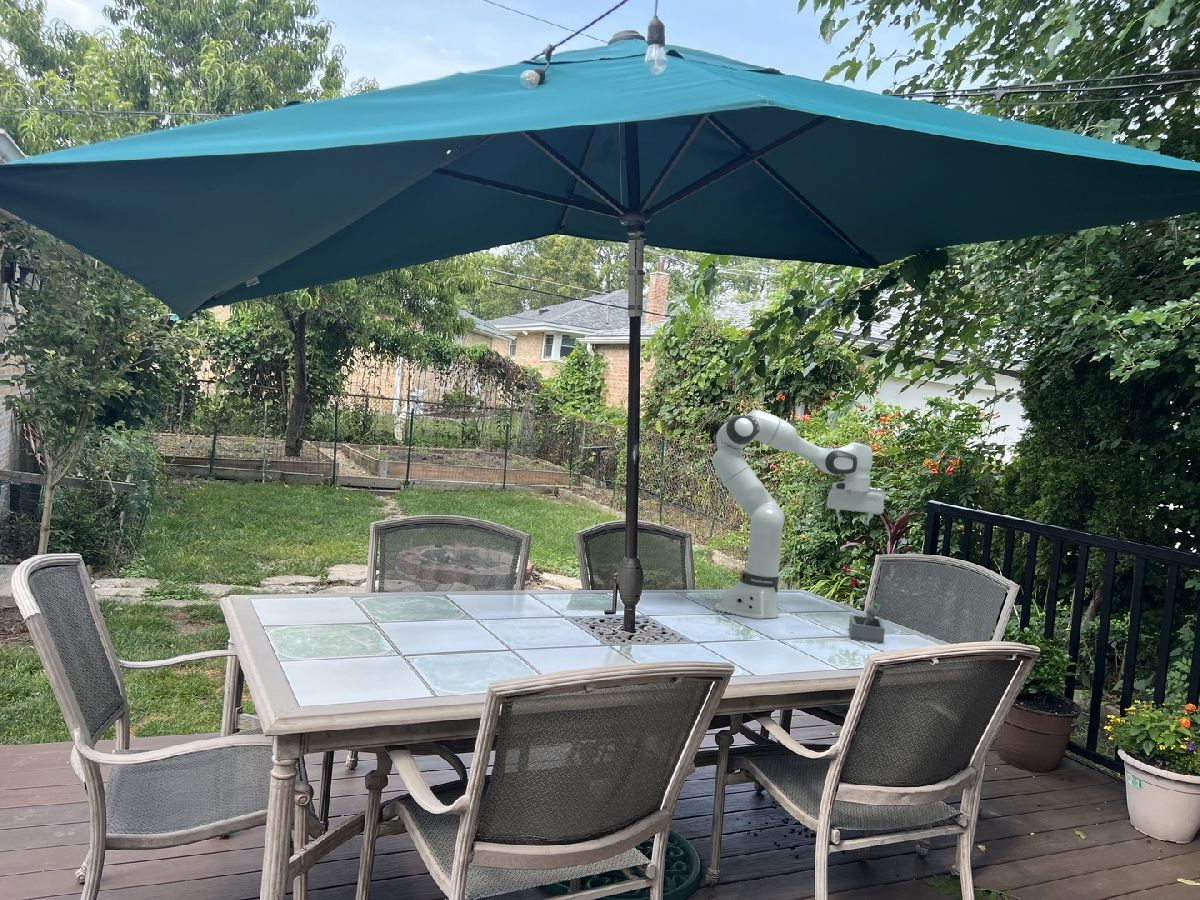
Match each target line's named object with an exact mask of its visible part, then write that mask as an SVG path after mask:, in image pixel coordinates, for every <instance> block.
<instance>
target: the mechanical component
mask: <svg viewBox="0 0 1200 900" xmlns="http://www.w3.org/2000/svg"><path fill="white" fill-rule="evenodd" d="M880 606H881V605H880V604H879V603H878V602H876V601H873V602H872V603H870V606H869V608H868V610H867V612H866V614H865V616H864V617H865V619H866V620H865V622H864V624H863V625H865V624H866V623H867V626H868V625H869V623H870V622H872V620H874V618H876V617H877V615H878V612H879V610H880V609H881V608H880Z"/></svg>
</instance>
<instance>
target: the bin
mask: <svg viewBox="0 0 1200 900" xmlns="http://www.w3.org/2000/svg"><path fill="white" fill-rule="evenodd" d="M865 617H866V616H863V615H856V614H850V615H849V624H848V626H849V627H848V632H849V631H850V632H849V635H851V636H850V640H853V639H857V640H856V641H860V640H864V641H863V642H866V641H870V642H869V643H873V642H877V643H876V644H880V643H883V644H884V640H885V639H884V638H885V630H886V628H885V626H884V624H883V621H882V618H876V617H875V618H874V620H872V622H870V623H869V625H868V626H867V623H866V624H865V625H863V624H864V622H865V620H866V619H865Z"/></svg>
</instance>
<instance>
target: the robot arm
mask: <svg viewBox="0 0 1200 900" xmlns="http://www.w3.org/2000/svg"><path fill="white" fill-rule="evenodd" d="M713 440H714V441H713V442H714V443H713V444H714V447H715V452H714V453H713V456H712V457H711V462H712V465H713V467H714V469H715V471H716V473H717V475H718V477H719V479H720V481H721V482H722V483H723V486H725V488H726V489H727V491H728V492H729V494H730V495H731V497H732V498H733V499H734V501H735V502H736V503H737V505H738V506H739V507H740V508H741V509H742V510H743V512H744V513H745V514H746V515H747V516H748V518H749V519H750V522H749V523H750V526H749V538H748V539H749V541H748V544H749V545H748V554H747V555H748V557H747V563H746V565H747V566H746V571H745V570H741V572H740V573H739V576H740V577H739V582H737V583H736V584H734V585H732V586H730V587H729V588H728V589H726V590H725V591H724V593H723V594H722V598H721V601H718V602H717V603H715V604H714V609H715V610H716V611H717V610H718V611H717V612H720V611H721V612H720V613H725V612H727V613H726V614H730V613H731V615H735V614H736V616H740V617H741V616H742V617H745V618H746V617H747V618H751V619H757V620H760V619H774V618H778V617H779V610H778V596H777V595H778V591H779V585H780V576H779V570H780V563H781V562H780V561H781V552H782V551H781V549H782V547H781V546H782V536H783V527H784V525H785V520H786V517H785V513H784V511H783V510H782V508H781V507H780V505H779V504H778V502H776V500H775V498H774V497H773V496H772V495H771V494H770V493H769V491H768V490H767V489H766V487H765V486H764V485H763V484H762V482H761V481H760V480H759V478H758V476H757V475H756V473H754V471H753V469H752V468H751V466H750V465H749V464H748V462H747V461H746V460H745V458H744V456H743V452H742V450H743V449H744V448H745V447H747V446H748V445H749V443H751V442H752V441H757V442H760V443H761V444H764V445H765V446H767V447H770V448H773V449H775V450H778V451H783V452H789V453H793V454H795V455H797V456H799V457H801V458H804V459H806V460H807V461H809V462H811V463H812V464H813V465H814V467H815V468H816V470H817V471H819V472H820V473H822V474H824V475H825V474H826V475H833V476H841V475H844V476H845V477H844V480H840V481H835V482H833V483H832V485H831V487H832V489H830V491H829V492H828V496H827V500H826V507H827V508H828V509H833V510H835V514H836V516H837V522H838V523H842V522H843V517H842V516H840V514H839V513H840V512H841V511H849V512H850V511H851V512H858V513H859V512H861V513H868V517H867V519H864V521H863V522H864V523H863V524H864V526H869V524H870V520H871V519H872V518H873V517H874V514H876V515H882V514H883V513H884V502H885V500H886V499H887V498H886V496H887V493H886V491H885V490H883V488H876V487H871V485H870V484H871V471H872V468H873V467H872V466H873V448H872V447H871V446H870V445H869V444H868V443H864V442H859V441H855V440H853V441H851V442H850V443H849V444H846V445H844V446H841V447H837V448H832V447H828V446H827V447H826V446H825V447H824V446H818V445H816V444H814V443H812V442H810V441H809V440H806V439H804V438H803V437H801V436H800V434H798V432H797V429H796V427H794V426H793V425H792V424H791V423H789V422H788V421H786V420H785V419H783V418H781V417H779V416H776V415H774V414H772V413H770V412H766V411H763V410H759V409H754V410H750V412H748V413H747V415H742V414H741V415H736V416H733V417H731V418H730V419H728V420H727V422H725V423H724V424H723V425H722V426H721V427H720V428H719V429H718V430H717V431H716V433H715V436H714V439H713Z"/></svg>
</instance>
